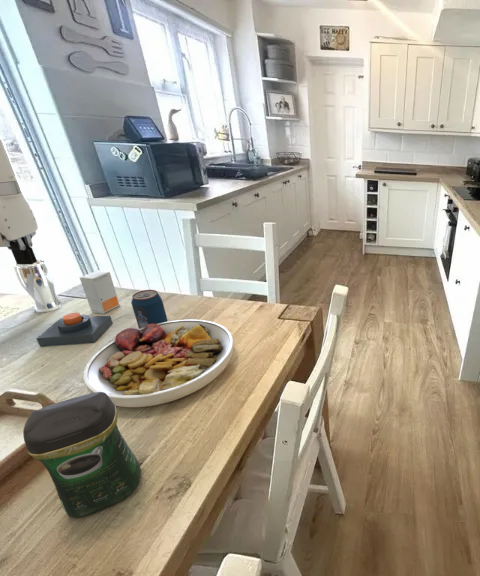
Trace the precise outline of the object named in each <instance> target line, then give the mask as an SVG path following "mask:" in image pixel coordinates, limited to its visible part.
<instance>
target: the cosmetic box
mask: <svg viewBox="0 0 480 576" xmlns="http://www.w3.org/2000/svg"><path fill="white" fill-rule="evenodd" d="M79 280H80V283H81V286H82V289H83V291H84V294H85V297H86V300H87V303H88V306H89V309H90V311H91V313H94V314H99V315H104V314H107V312H110V311H112V310H113V309H116V308H118V307H120V300H119V297H118V295H117V291H116V288H115V285H114V281H113V278H112V275H111V272H110V271H106V270H101V269H97V270H95V271H92V272H89V273H87V274H85V275H82V276H79Z"/></svg>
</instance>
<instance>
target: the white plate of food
mask: <svg viewBox="0 0 480 576" xmlns="http://www.w3.org/2000/svg"><path fill="white" fill-rule="evenodd" d="M234 345H235V344H234V338H233V334H231V332H230V330H228V329H227V328H226V327H225V326H223V325H222V324H219V323H217V322H214V321H211V320H203V319H177V320H169V321H168V322H163V323H159V324H153V323H152V324H148V325H147V326H146V327H144V328H141V329H139V328H135V327H128V328H127V327H126V328H124V329H123V330H121V331H120V332H118V333H117V334H116V336H115V339H114V340H112V341H111V342H109V343H107V344H106V345H105V346H103V347H102V348H101V349H99V350H98V351H97V352H96V353H95V354H94V355H93V356H92V357H91V358H90V359H89V360H88V362H87V364H86V365H85V366H84V370H83V374H82V378H83V382H84V385H85V387H86V390H87V391H88V392H89V394H90V393H95V392H104V393H106V394H107V395H108V396H109V398H110V400H111V401H112V402H113V404H114V405H115V406H116V407H122V408H144V407H145V408H146V407H153V406H158V405H162V404H166V403H170V402H174V401H177V400H179V399H182V398H184V397H186V396H189V395H191V394H193V393H195V392H197V391H199V390H200V389H202V388H204V387H205V386H207V385H209V384H210V383H211V382H213V381H214V380H215V379H217V377H219V375H221V374H222V373H223V371H224V370H225V369H226V367H227V366H228V365H229V363H230V361H231V359H232V356H233V353H234V347H235V346H234Z"/></svg>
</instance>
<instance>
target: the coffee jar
mask: <svg viewBox="0 0 480 576" xmlns="http://www.w3.org/2000/svg"><path fill="white" fill-rule="evenodd" d="M22 432H23V441H24V443H25V448H26V451H27V453H28V455H30V456H31V457H32V458H33V459H35V460H37V461H38V462H41V464H42V465H43V466H44V467H45V469H46V470H47V472H48V474H49V475H50V478H51V480H52V482H53V485H54V487H55V491H56V493H57V496H58V498H59V502H60V504H61V506H62V508H63V510H64V512H65V514H66V516H68V517H70V518H74V519H79V518H83V517H86V516H89V515H92V514H95V513H98V512H100V511H103V510H104V509H107V508H109V507H112V506H113V505H116V504H117V503H119V502H121V501H124V500H125V499H127V498H128V497H130V496H131V495H132V494H133V493H134V492H135V491H136V489H137V488H138V487H139V484H140V482H141V476H142V475H141V474H142V470H141V464H140V463H139V460H138V459H137V457H136V455H135V454H134V452H133V450H132V449H131V448H130V446H129V445H128V443H127V442H126V440H125V438H124V437H123V435H122V434H121V432H120V430H119V428H118V410H117V406H115V405H114V404H113V402H112V401H111V400H110V398H109V396H108V395H107V394H106V393H104V392H95V393H90V392H89V393H87V394H83V395H78V396H76V397H75V396H74V397H72V398H68V399H65V400H62V401H59V402H55V403H52V404H50V405H46V406H44V407H41V408H39V409H36V410H33V411H31V413H30V414H29V416H28V417H27V419H26V421H25V424H24V426H23V431H22Z"/></svg>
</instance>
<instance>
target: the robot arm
mask: <svg viewBox="0 0 480 576" xmlns="http://www.w3.org/2000/svg"><path fill="white" fill-rule="evenodd" d="M38 229H39V226H38V223H37V220H36V217H35V214H34V212H33V210H32V208H31V206H30V204H29V202H28V199H27V198H26V197H25V195H24V192H23V189H22V187H21V184H20V182H19V178H18V176H17V173H16V171H15V168H14V165H13V162H12V160H11V158H10V155H9V152H8V150H7V147H6V144H5V141H4V140H3V137H2V135H0V248H7V249H8V250H9V251H11V253H12V255H13V258H14V260H15V262H16V263H17V264H33V263H35V262H37V260H36V259H37V258H36V255H35V252H34V249H33V241H32V238H33V237H34V236H35V235H36V234H37V230H38ZM16 263H15V264H16Z"/></svg>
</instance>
